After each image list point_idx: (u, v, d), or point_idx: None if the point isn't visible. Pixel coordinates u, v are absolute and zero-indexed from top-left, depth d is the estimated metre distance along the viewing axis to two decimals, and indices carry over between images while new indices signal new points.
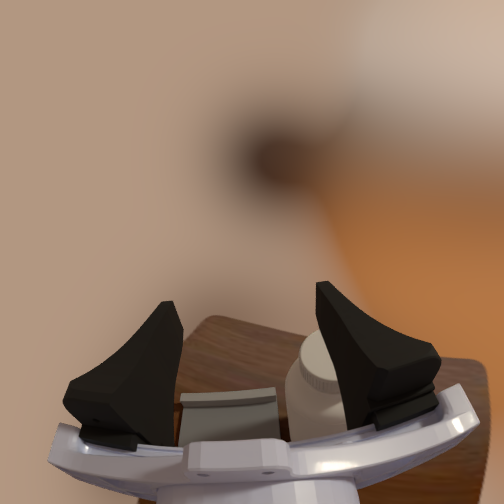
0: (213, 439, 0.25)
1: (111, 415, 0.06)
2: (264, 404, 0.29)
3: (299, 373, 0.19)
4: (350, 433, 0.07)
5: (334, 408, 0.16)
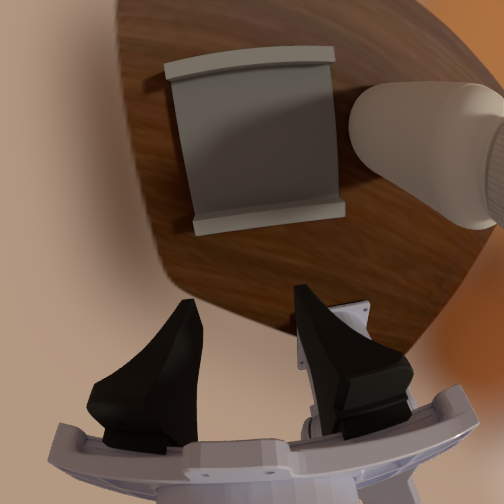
0: (236, 132, 0.19)
1: (142, 418, 0.06)
2: (310, 67, 0.16)
3: (469, 151, 0.08)
4: None
5: (482, 223, 0.10)
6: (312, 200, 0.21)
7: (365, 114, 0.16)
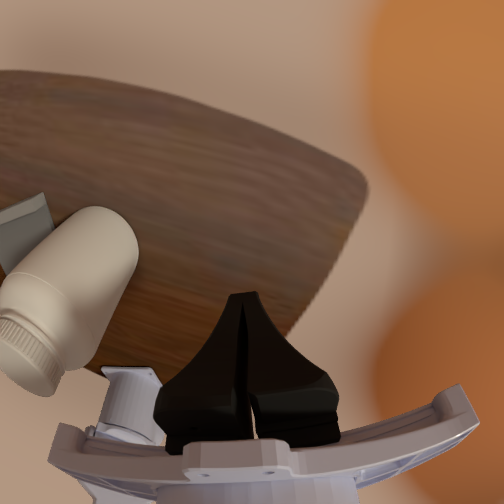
0: (18, 259, 0.22)
1: (223, 420, 0.06)
2: (34, 211, 0.20)
3: None
4: (350, 433, 0.07)
5: None
6: None
7: None
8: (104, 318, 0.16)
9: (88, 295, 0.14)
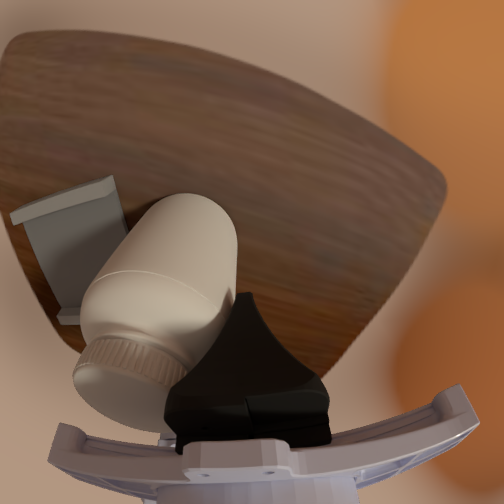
0: (65, 257, 0.22)
1: (236, 419, 0.06)
2: (99, 198, 0.19)
3: None
4: (350, 433, 0.07)
5: None
6: None
7: None
8: None
9: (226, 297, 0.13)
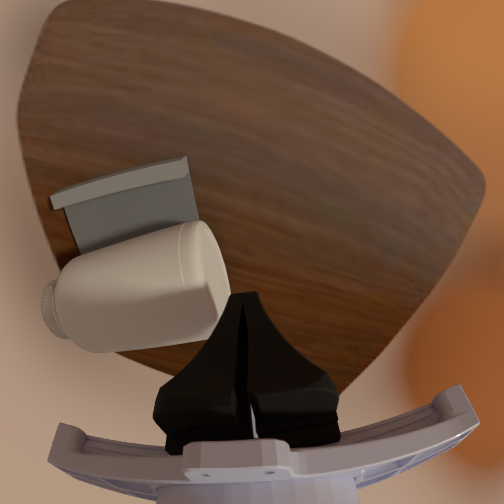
0: None
1: (223, 420, 0.06)
2: (169, 180, 0.19)
3: None
4: (350, 433, 0.07)
5: None
6: None
7: None
8: (111, 350, 0.17)
9: (86, 337, 0.16)
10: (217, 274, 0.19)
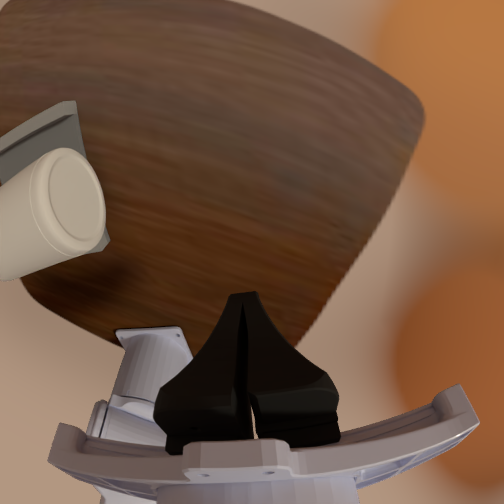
0: None
1: (223, 419, 0.06)
2: (61, 123, 0.17)
3: None
4: (350, 433, 0.07)
5: None
6: None
7: None
8: (2, 273, 0.15)
9: None
10: (81, 197, 0.17)
